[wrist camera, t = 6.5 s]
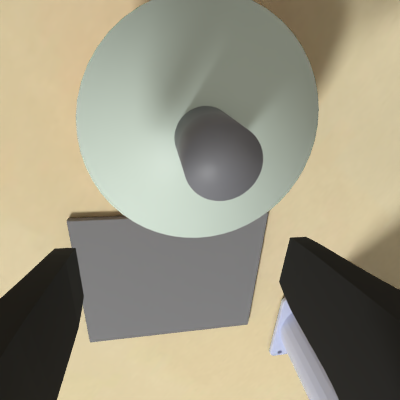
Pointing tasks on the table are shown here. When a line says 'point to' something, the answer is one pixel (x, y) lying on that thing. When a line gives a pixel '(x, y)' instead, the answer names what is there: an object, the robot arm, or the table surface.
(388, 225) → the table surface
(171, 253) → the mat
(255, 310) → the table surface
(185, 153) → the lid
